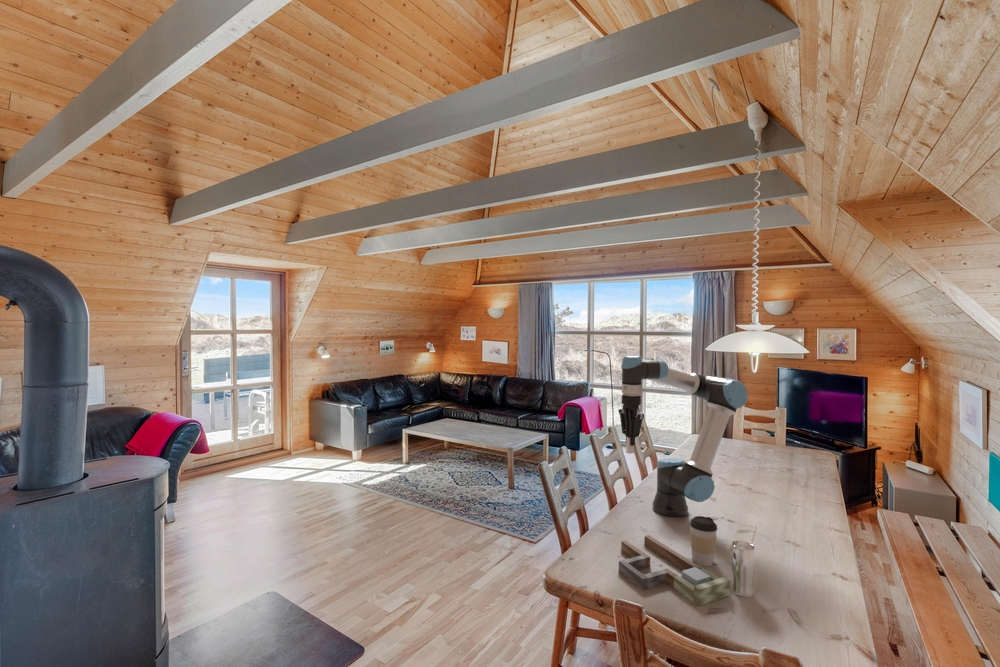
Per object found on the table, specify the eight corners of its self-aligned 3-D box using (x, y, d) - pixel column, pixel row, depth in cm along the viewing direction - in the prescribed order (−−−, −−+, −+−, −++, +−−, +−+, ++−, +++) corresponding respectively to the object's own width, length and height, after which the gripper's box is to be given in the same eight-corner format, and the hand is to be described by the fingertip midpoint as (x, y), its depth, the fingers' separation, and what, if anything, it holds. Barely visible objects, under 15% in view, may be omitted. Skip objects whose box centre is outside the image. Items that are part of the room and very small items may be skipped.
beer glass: (746, 585, 149) (747, 539, 149) (759, 598, 142) (760, 550, 142) (725, 585, 149) (726, 539, 149) (737, 598, 142) (738, 550, 142)
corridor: (648, 544, 176) (648, 531, 176) (729, 595, 143) (730, 580, 143) (599, 555, 167) (599, 542, 167) (673, 614, 134) (674, 597, 134)
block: (694, 582, 151) (695, 567, 151) (710, 591, 146) (710, 576, 146) (681, 586, 149) (681, 571, 149) (696, 596, 143) (696, 580, 143)
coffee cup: (700, 568, 159) (701, 525, 159) (683, 555, 168) (684, 515, 167) (722, 565, 162) (723, 523, 161) (704, 552, 170) (705, 512, 170)
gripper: (613, 392, 189) (612, 449, 190) (634, 397, 177) (633, 458, 178) (627, 391, 192) (626, 447, 193) (650, 396, 180) (648, 456, 181)
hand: (630, 452), depth 185 cm, fingers closed
